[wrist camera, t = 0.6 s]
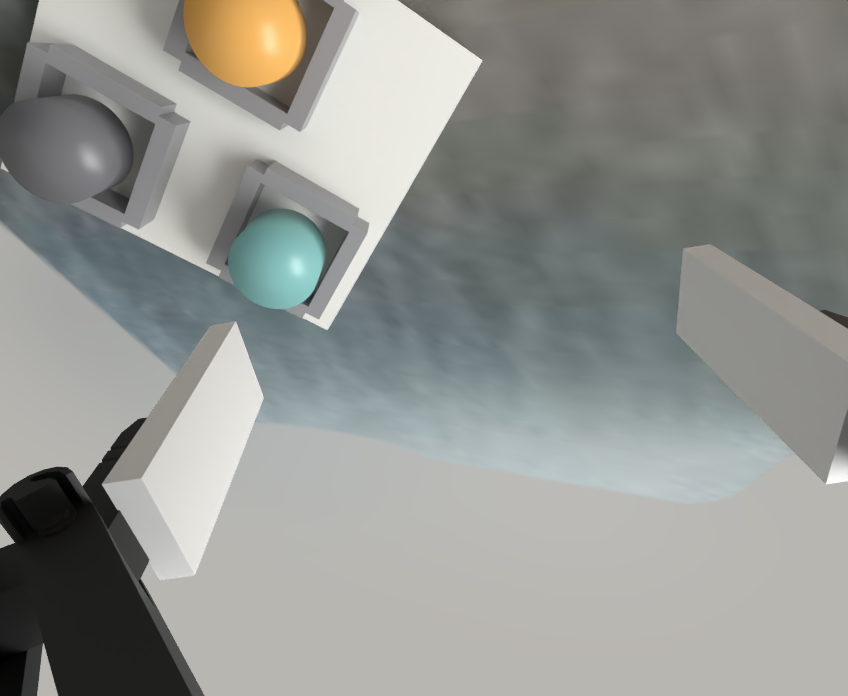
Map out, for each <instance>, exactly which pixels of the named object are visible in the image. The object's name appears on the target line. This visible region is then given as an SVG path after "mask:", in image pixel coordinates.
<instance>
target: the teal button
mask: <svg viewBox="0 0 848 696" xmlns="http://www.w3.org/2000/svg"><path fill="white" fill-rule="evenodd" d="M325 259H326V244H325V240H324V238H323V235H322V233H321V231H320V230H319V228H318V227H317V226H316V224H315V223H314V222H313V221H312V220H310V219H309V218H308V217H306V216H305V215H303V214H301V213H299V212H297V211H294V210H290V209H282V208H280V209H272V210H268V211H265V212H263V213H261V214H260V215H258V216H257V217H256V218H255V219H254V220H253V221H252V222H251V223H250V224H249V225H248V226H247V227H246V228H245V229H244V231H243V232H242V233H241V234H240V235H239V236H238V237H237V238H236V240H235V241H234V242H233V244H232V246H231V249H230V251H229V256H228V268H229V272H230V275H231V278H232V280H233V282H234V284H235V286H236V287H237V288H238V290H239V291H240V292H241V293H242V294H243V295H244V296H245V297H246V298H248V299H249V300H251V301H252V302H254V303H256V304H258V305H260V306H263V307H266V308H272V309H286V308H290V307H294V306H296V305H298V304H300V303H302V302H303V301H305V300H306V299H307V298H308V297H309V296H310V295H311V294H312V292H313V290H314V289H315V286H316V284H317V281H318V279H319V276H320V274H321V271H322V268H323V266H324V263H325Z"/></svg>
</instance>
